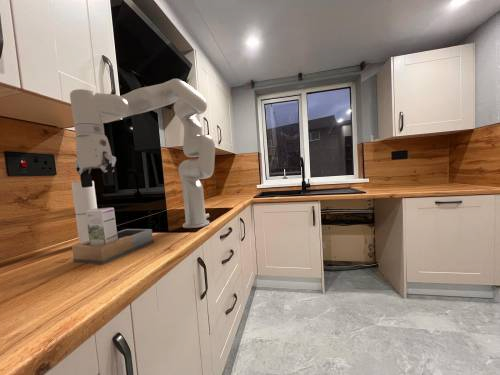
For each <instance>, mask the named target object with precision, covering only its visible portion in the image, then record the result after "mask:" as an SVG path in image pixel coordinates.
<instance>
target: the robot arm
mask: <svg viewBox="0 0 500 375" xmlns="http://www.w3.org/2000/svg"><path fill="white" fill-rule="evenodd" d="M69 100H70V106H71V112H72V119H73V125H74V132H75V133H74V134H75V137H76V139H75V140H76V141H75V148H76V151H75V152H76V160H75V161H74V162H73V165H74V167H75V168H76V172H77V173H78V176H79V177H80V178H79V179H80V182H81V186H82V187H83V188H84V187H92V186H93V184H92V181H93V179H92V174H91V172H92V169H101V171H102V172H101V175H102V183H103V186H114V185H115V181H114V172H115V168H116V162H117V157H116V156H114V155H112V150H111V146H110V145H111V144H110V142H109V139H108V137H107V135H105V126H104V124H107V123H111V122H114V121H118V120H121V119H124V118H127V117H131V116H134V115H139V114H144V113H147V112H151V111H153V110H156V109H159V108H163V107H166V106H168V105H172V104H173V110H174V113H175V115H176V117H178V119H179V120H180V122H181V124H182V126H183V143H182V144H183V145H182V149H183V150H182V152H183V154H184V156H186V157H188V158H190V159H186V160H183V161H182V162H180V163H179V165H178V168H177V169H178V175H179V179H180V182H181V187H182V199H183V208H184V215H185V216H184V217H185V222H184V223H183V224H182V228H184V229H196V228H203V227H206V226H209V225H210V220H208V218H210V214H209V213H206V209H205V208H206V207H205V197H204V196H205V195H204V186H203V184H202V182H201V181H200V180H203V179H209V178H211V177H212V176H213V174H214V171H215V158H216V144H215V141H214V139H213V138H212V137H211V136H210V135H209V134H203V128H202V125H201V123H200V122H199V120H198V119H197V117H196V116H199V115H201V114H203V113H205V112H206V111H207V107H208V104H207V100H206V99H205V97H203V94H201V93H200V92H198V91H197V90H195V89H194V87H192V86H191V85H189V84H188V83H186V82H185V81H183V80H182V79H179V78H172V79H170V80H168V81H165V82H163V83H158V84H154V85H149V86H144V87H139V88H137V89H134V90H131V91H129V92H127V93H125V94H122V95H118V94H111V93H103V92H102V93H99V92H95V91H92V90H88V89H83V88H81V89H79V88H78V89H74V90H72V91H70V93H69ZM197 157H198V158H197Z"/></svg>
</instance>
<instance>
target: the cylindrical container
mask: <svg viewBox="0 0 500 375" xmlns="http://www.w3.org/2000/svg"><path fill="white" fill-rule="evenodd" d="M92 184H93V186H92V187H84V188H83V187H82V186H81V181H72V182H71V190H72V191H71V192H72V199H73V206H74V213H75V221H76V229H77V237H78V244H80V243H83V242H87V241H89V234H88V227H87V219H86V212H85V211H89V210H92V209H98V204H97V195H96V188H95V181H94V180H92Z"/></svg>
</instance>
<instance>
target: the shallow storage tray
mask: <svg viewBox="0 0 500 375" xmlns="http://www.w3.org/2000/svg"><path fill="white" fill-rule="evenodd" d="M117 236H118V239H117V240H114V241H111V242H108V243H105V244H102V245H99V246H92V245H90V241H87V242H83V243H80V244H79V243H78V244H74V245H72V246H71V249H72V257H73V258H72V262H73V263H84V264H97V265H98V264H99V265H105V264H107V263H109V262H112V261H114V260H117V259H118V258H120V257H121V258H122V257H123V256H125V255H127V254H130V253H133V252H135V251H137V250H140V249H142V248H144V247H147V246H148V245H151V244H153V243H154V238H153V229H151V228H126V229H122V230H120V231H117Z"/></svg>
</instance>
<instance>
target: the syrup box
mask: <svg viewBox="0 0 500 375" xmlns="http://www.w3.org/2000/svg"><path fill="white" fill-rule="evenodd" d="M85 212H86V219H87V227H88V234H89V241H90V245H92V246H99V245H102V244H105V243H108V242H111V241H114V240H117V239H118V236H117V232H118V230H117V223H116V221H117V220H116V215H115V214H116V213H115V208H114V207H101V208H97V209H92V210H89V211H85Z"/></svg>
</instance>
